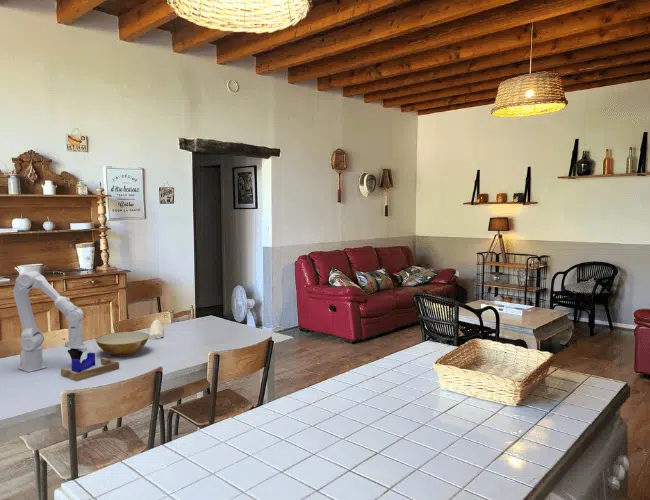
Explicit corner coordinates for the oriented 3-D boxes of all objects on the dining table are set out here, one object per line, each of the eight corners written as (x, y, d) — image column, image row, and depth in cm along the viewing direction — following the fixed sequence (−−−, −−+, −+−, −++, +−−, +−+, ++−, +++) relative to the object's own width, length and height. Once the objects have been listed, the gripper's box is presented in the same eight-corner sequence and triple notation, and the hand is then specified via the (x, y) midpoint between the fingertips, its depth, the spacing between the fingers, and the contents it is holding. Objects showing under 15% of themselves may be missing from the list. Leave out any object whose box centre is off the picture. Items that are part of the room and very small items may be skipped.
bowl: (160, 350, 252) (160, 335, 251) (121, 363, 229) (121, 347, 228) (124, 343, 262) (124, 329, 261) (84, 356, 239) (83, 340, 239)
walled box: (61, 375, 211) (60, 368, 211) (103, 363, 228) (103, 357, 227) (76, 381, 204) (76, 374, 204) (119, 368, 221) (119, 362, 221)
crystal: (166, 332, 273) (166, 322, 296) (154, 326, 271) (155, 317, 294) (159, 344, 273) (159, 333, 295) (147, 338, 270) (148, 328, 293)
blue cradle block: (86, 364, 227) (86, 352, 226) (95, 365, 226) (95, 352, 225) (68, 373, 215) (68, 359, 214) (77, 373, 214) (77, 360, 214)
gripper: (93, 336, 221) (93, 365, 222) (74, 331, 228) (75, 359, 229) (78, 339, 215) (78, 369, 216) (60, 334, 222) (60, 363, 223)
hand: (76, 364), depth 222 cm, fingers closed
